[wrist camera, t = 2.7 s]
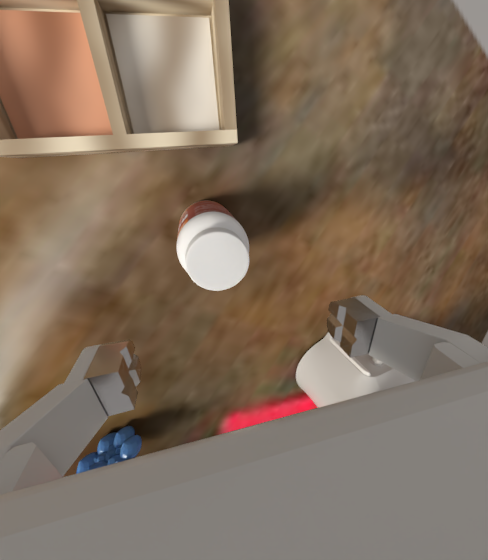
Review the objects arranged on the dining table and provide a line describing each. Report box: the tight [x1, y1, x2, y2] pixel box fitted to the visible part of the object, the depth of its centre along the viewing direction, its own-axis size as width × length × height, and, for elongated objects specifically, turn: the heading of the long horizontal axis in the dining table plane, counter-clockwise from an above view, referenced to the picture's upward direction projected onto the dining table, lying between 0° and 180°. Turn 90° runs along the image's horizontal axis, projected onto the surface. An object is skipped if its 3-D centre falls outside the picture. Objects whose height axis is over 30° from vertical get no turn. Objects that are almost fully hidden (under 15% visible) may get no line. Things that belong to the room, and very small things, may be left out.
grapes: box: [76, 426, 142, 474], centre depth 32 cm, size 12×7×12 cm, turn 115°
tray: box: [0, 0, 238, 158], centre depth 18 cm, size 19×10×4 cm, turn 94°
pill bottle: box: [177, 200, 249, 291], centre depth 22 cm, size 6×6×11 cm
